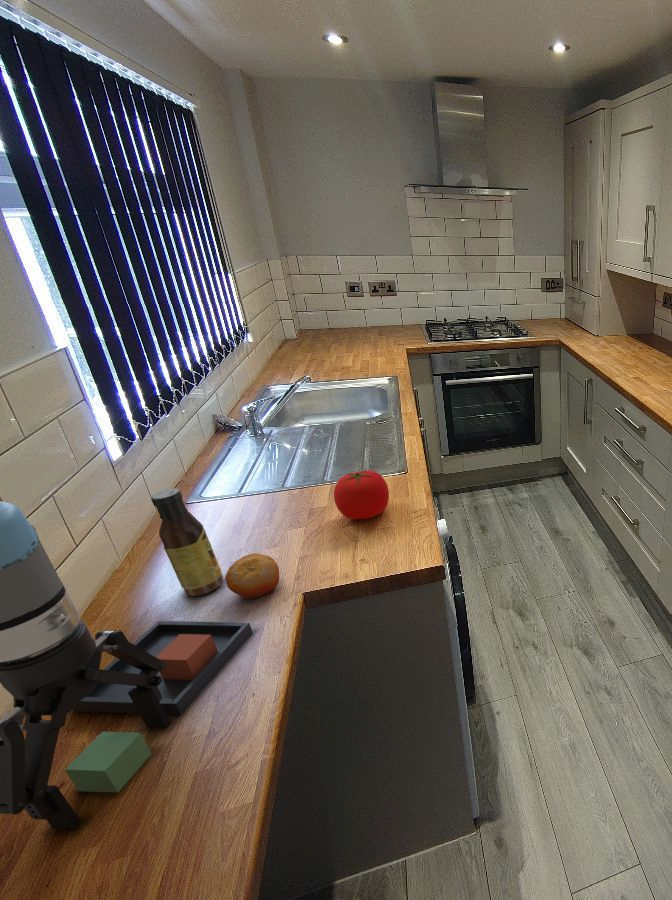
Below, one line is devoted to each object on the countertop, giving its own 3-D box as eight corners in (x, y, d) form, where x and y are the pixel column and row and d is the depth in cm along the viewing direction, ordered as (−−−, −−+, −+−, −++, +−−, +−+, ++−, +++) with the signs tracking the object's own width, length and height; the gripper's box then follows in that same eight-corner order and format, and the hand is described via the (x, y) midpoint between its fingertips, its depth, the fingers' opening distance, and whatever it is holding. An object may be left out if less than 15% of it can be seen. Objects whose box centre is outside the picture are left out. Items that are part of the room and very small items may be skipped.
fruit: (271, 561, 102) (267, 540, 97) (287, 594, 99) (284, 574, 94) (222, 580, 97) (216, 559, 91) (238, 615, 94) (232, 596, 89)
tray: (73, 711, 73) (67, 701, 72) (162, 630, 88) (158, 620, 87) (181, 714, 73) (175, 704, 72) (253, 632, 87) (249, 622, 86)
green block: (78, 791, 63) (64, 769, 61) (115, 752, 68) (102, 731, 66) (118, 792, 63) (104, 771, 61) (152, 753, 67) (140, 732, 66)
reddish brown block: (162, 679, 78) (153, 659, 76) (188, 653, 82) (179, 633, 80) (195, 680, 77) (186, 660, 76) (219, 654, 82) (211, 634, 80)
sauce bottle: (231, 583, 98) (196, 490, 90) (193, 602, 94) (153, 506, 85) (214, 571, 102) (179, 481, 93) (177, 589, 97) (136, 496, 89)
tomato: (389, 497, 128) (381, 458, 123) (395, 521, 118) (386, 479, 113) (339, 507, 123) (329, 467, 119) (340, 533, 113) (329, 491, 109)
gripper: (-66, 745, 45) (48, 886, 54) (161, 569, 67) (215, 690, 76) (-148, 742, 45) (-21, 883, 54) (105, 568, 67) (165, 688, 76)
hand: (116, 770), depth 65 cm, fingers open, 12 cm apart
